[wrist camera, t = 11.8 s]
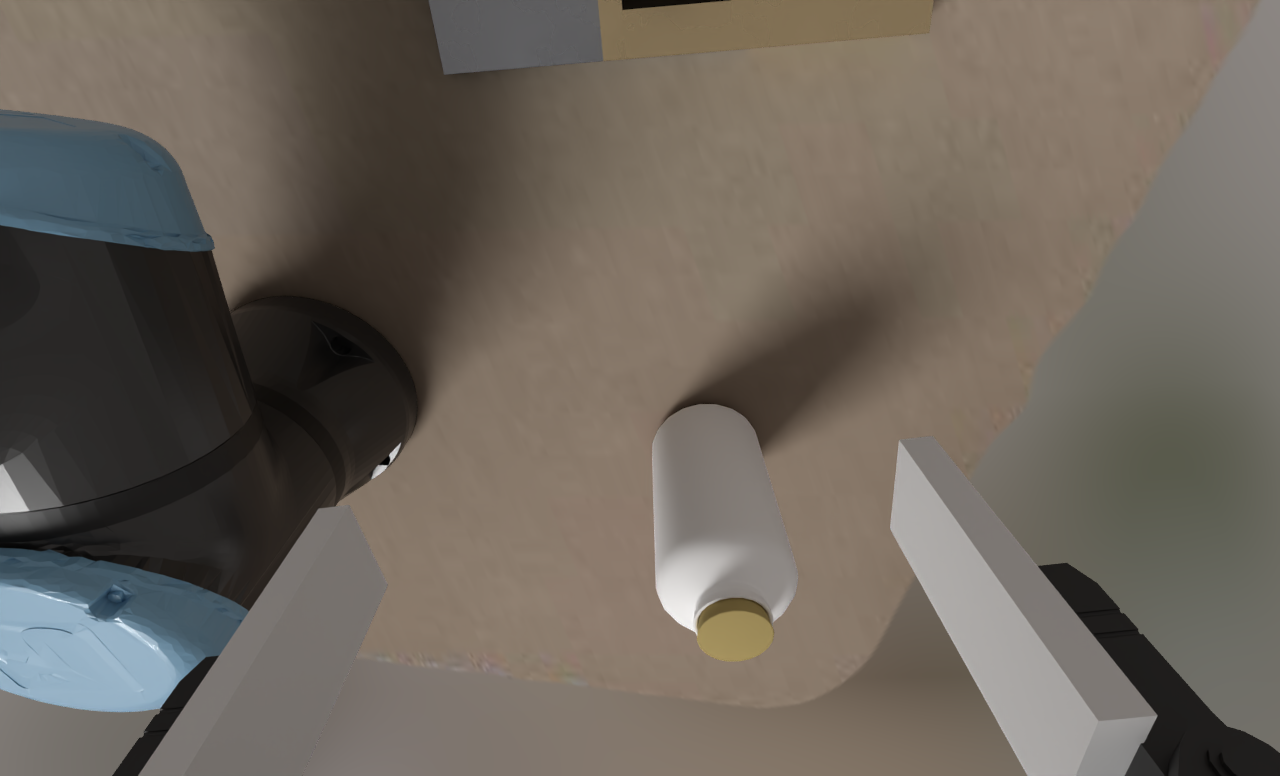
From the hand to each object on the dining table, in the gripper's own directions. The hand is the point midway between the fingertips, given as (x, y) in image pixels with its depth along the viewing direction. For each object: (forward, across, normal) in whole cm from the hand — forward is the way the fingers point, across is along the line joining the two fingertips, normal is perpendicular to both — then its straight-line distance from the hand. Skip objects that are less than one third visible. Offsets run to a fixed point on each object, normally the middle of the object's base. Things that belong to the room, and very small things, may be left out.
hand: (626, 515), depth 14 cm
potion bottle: (+28, +4, -18) cm, 33 cm away
